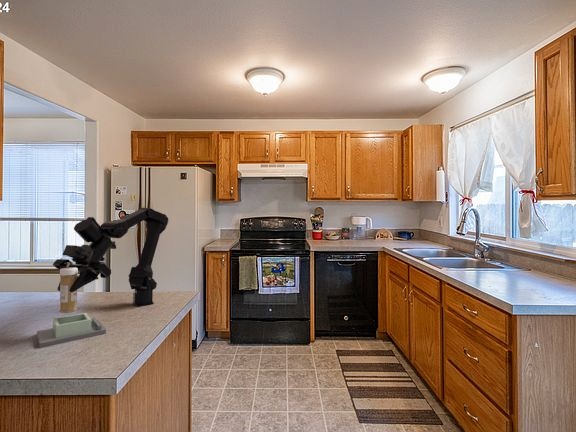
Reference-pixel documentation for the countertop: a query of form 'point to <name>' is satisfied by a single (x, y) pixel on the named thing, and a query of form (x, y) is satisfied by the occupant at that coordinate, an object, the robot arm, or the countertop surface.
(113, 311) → the countertop surface
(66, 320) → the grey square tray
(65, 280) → the sprinkles bottle
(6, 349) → the countertop surface
